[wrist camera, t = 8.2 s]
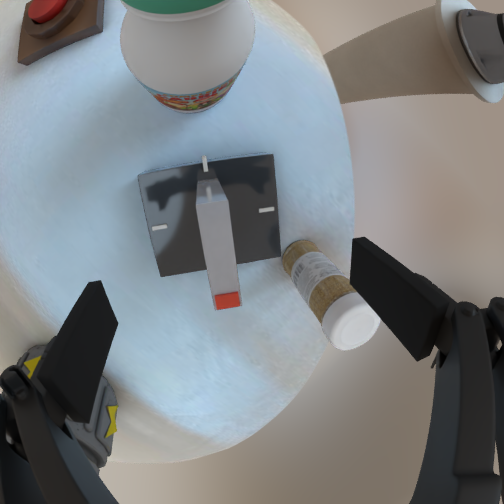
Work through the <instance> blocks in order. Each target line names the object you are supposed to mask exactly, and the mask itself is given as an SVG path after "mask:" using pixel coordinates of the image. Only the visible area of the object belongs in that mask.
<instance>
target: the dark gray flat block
mask: <svg viewBox="0 0 504 504" xmlns="http://www.w3.org/2000/svg"><path fill="white" fill-rule="evenodd" d="M214 178H218V180H219V182H220V184H221V186H222V188H223V190H224V192H225V195H226V197H227V199H228V202H229V210H230V218H231V226H232V234H233V241H234V249H235V257H236V264H241V263H247V262H253V261H258V260H264V259H270V258H275V257H281V246H280V232H279V218H278V204H277V192H276V179H275V168H274V157H273V154H270V153H266V152H264V153H254V154H246V155H237V156H230V157H222V158H215V159H209V160H207V158H206V155H205V156H202V161H196V162H190V163H184V164H179V165H173V166H168V167H163V168H158V169H153V170H149V171H144V172H143V173H141V174H139V175H138V181H139V186H140V192H141V197H142V202H143V206H144V211H145V216H146V220H147V225H148V229H149V233H150V237H151V242H152V246H153V250H154V253H155V257H156V261H157V265H158V269H159V272H160V276H161V277H165V276H171V275H177V274H183V273H188V272H194V271H200V270H206V269H207V268H206V262H205V257H204V252H203V246H202V240H201V235H200V229H199V223H198V217H197V211H196V193H197V181H201V180H207V179H214Z"/></svg>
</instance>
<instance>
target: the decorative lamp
mask: <svg viewBox="0 0 504 504" xmlns="http://www.w3.org/2000/svg"><path fill="white" fill-rule="evenodd" d="M45 348H46V346H35V347H33V348H31V349H29V350H28V351H27V352H26V353H24V355H23V356H22V357H21V358H20V359H19V360H18V362H17V364H16V365H18V366H20V367H21V368H22V369H23V371H24V372H25V374H26V375H27V376H28V378H29V379H30V378H31V376H32V374H33V372H34V369H35V367H36V365H37V363H38V361H39V360H40V357H41V355H42V354H43V353H44V350H45ZM1 395H2V396H3V397H6V396H8V395H7V394H6V393H5V392H4V390H3V392H2V394H1ZM117 408H118V405H117V402H116V397H115V394H114V390H113V389H112V387H111V386H110V384H109V383H108V381H107V380H106V379H105V378H104V377H103V376H101V380H100V383H99V387H98V391H97V394H96V398H95V402H94V406H93V410H92V415H91V419H90V423H89V424H87V423H77V422H74V421H73V420H72V419H71V418H70V417H69V416H68V415H66V419H65V421H66V422H67V423H68V424H69V426H70V428H71V430H72V432H73V434H74V435H75V437H76V439H77V441H78V443H79V445H80V446H81V448H82V450H83V452H84V453H85V455H86V457H87V458H88V460H89V462H90V463H91V465H92V466H93V468H94V470H95V471H96V473H97V474H98V476H99V471H100V470H99V468H101V467H104V466H105V464H106V462H107V456H110V455H111V450H112V442H113V434H114V433H115V432H117V429H116V422H115V420H116V414H117ZM6 438H7V441H8V442H9V443H10V444H11V438H10V437H8V436H7V435H6Z"/></svg>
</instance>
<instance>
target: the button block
mask: <svg viewBox="0 0 504 504" xmlns="http://www.w3.org/2000/svg"><path fill="white" fill-rule="evenodd" d="M33 1H34V0H32V1H30V2H28V3H27V4H26V7H25V12H24V17H23V22H22V28H21V34H20V42H19V51H18V63H21V64H24V65H29V64H31V63H33V62H34V61H36V60H38V59H40V58H42V57H44V56H46V55H48V54H50V53H52V52H54V51H56V50H58V49H60V48H62V47H65V46H67V45H69V44H72V43H74V42H76V41H79V40H81V39H84V38H86V37H89V36H92V35H94V34H97V33H100V32H103V13H104V0H67V3H66V5H65V6H64V8H63V9H62V11H61V12H60V13H59V14H58V15H56V16H55V17H54V18H53V19H51V20H49V21H47V22H45V23H38V22H37V21H35V20H33V19H32V18H30V17H29V15H28V10H29V7H30V5H31V3H32V2H33Z"/></svg>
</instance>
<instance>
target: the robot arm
mask: <svg viewBox="0 0 504 504" xmlns="http://www.w3.org/2000/svg"><path fill="white" fill-rule="evenodd" d="M456 27H457V32H458V35H459V39H460V41H461V44H462V47H463V49H464V51H465V53H466V55H467V57H468V59H469V61H470V63H471V65H472V66H473V68H474V69H475V71H476V72H477V73H478V75H479V76H480V77H481V78H482V79H483V80H484V81H486V82H487V83H490V84H498V83H502V82H504V13H503V14H492V13H488V12H484V11H478V10H473V9H464V10H460V11H458V12H457V14H456ZM349 284H350V285H351V286H352V287H353V288H354V289H355V290H356V291H357V292H358V294H359V295H360V296H361V297H362V298H363V299H364V300H365V301H366V303H367V304H368V305H369V306H370V307H371V308H372V309H373V310H374V312H375V313H376V314H377V315H378V316H379V317H380V318H381V320H382V321H383V322H384V323H385V324H386V325H387V326H388V327H389V329H390V330H391V331H392V332H393V333H394V335H395V336H396V337H397V338H398V339H399V340H400V342H401V343H402V344H403V345H404V347H405V348H406V349H407V350H408V351H409V352H410V354H411V355H412V356H413V357H414V358H415V360H416V361H419V360H421V359H423V358H425V357H427V356H429V355H430V354H431V351H432V349H433V347H434V345H435V346H436V347H437V348H438V349H439V350H438V352H437V354H436V357H435V359H434V361H433V363H432V366H431V368H433V367H434V365H435V364H436V375H435V389H434V399H433V407H432V415H431V422H430V428H429V434H428V439H427V445H426V449H425V454H424V458H423V462H422V467H421V470H420V474H419V478H418V481H417V484H416V488H415V491H414V494H413V497H412V499H411V501H410V503H409V504H499V501H500V496H502V502H503V504H504V298H502V297H494V298H492V299H491V301H490V304H489V306H488V308H485V309H479V308H478V307H477V306H476V305H474V304H472V303H469V302H459V303H457V302H455V301H454V300H453V299H452V298H451V297H449V296H448V295H447V294H446V293H444V292H443V291H442V290H441V289H439V288H438V287H437V286H436V285H434V284H432V282H431V281H430V280H428V279H427V278H425V277H424V276H422V275H419V274H417V273H413V272H412V271H410V270H409V269H408V268H406V267H405V266H404V265H403V264H401V263H400V262H398V261H397V260H396V259H395V258H393V257H392V256H391V255H389V254H388V253H386V252H385V251H384V250H382V249H381V248H379V247H378V246H377V245H375V244H374V243H373V242H371V241H369V240H368V239H367V238H366V237H361V238H354V239H352V256H351V271H350V283H349ZM117 326H118V321H117V319H116V317H115V314H114V312H113V310H112V307H111V305H110V303H109V300H108V298H107V295H106V292H105V290H104V287H103V285H102V282H101V280H100V281H94V282H89V283H88V284H87V286H86V287H85V289H84V290H83V292H82V294H81V295H80V297H79V298H78V300H77V302H76V303H75V305H74V307H73V308H72V310H71V312H70V313H69V315H68V317H67V318H66V320H65V322H64V324H63V325H62V327H61V329H60V331H59V333H58V334H57V336H54V338H53V339H52V340H51V341H50V342H49V343H48V344H47V346H46V348H45V350H44V353H43V354H42V355H41V357H40V360H39V361H38V363H37V365H36V367H35V369H34V372H33V374H32V376H31V378H30V379H29V378H28V376H27V375H26V374H25V372H24V371H23V369H22V368H21V367H20V366H18V365H12V366H10V367H8V368H7V369H5V370H4V371H3V373H2V374H1V376H0V387H1V388H2V389H3V390H4V392H5V393H6V394H7V395H8V396H6V397H3V396H2V395H1V394H0V504H119V503H118V502H117V501H116V499H115V498H114V497H113V495H112V494H111V493H110V491H109V490H108V489H107V487H106V486H105V485H104V483H103V481H102V480H101V479H100V477H99V476H98V474H97V473H96V471H95V470H94V468H93V466H92V465H91V463H90V462H89V460H88V458H87V457H86V455H85V453H84V452H83V450H82V448H81V446H80V445H79V443H78V441H77V439H76V437H75V435H74V434H73V432H72V430H71V428H70V426H69V424H68V423H67V422H66V421H65V419H66V415H68V416H69V417H70V418H71V419H72V420H73V421H74V422H77V423H87V424H89V423H90V419H91V415H92V410H93V406H94V402H95V398H96V394H97V391H98V387H99V383H100V380H101V376H102V373H103V369H104V366H105V363H106V359H107V356H108V353H109V350H110V347H111V344H112V341H113V338H114V335H115V332H116V329H117ZM499 340H501V342H502V346H501V348H500V350H498V348H497V344H498V343H499ZM6 435H7V436H8V437H10V438H11V444H10V443H9V442H8V441H7V438H6ZM495 441H496V447H497V453H498V462H499V472H500V476H499V475H497V474H494V471H493V464H494V453H495Z"/></svg>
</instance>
